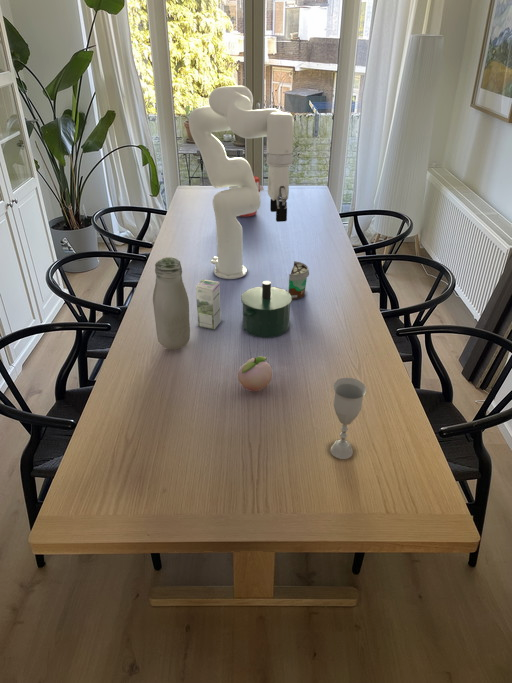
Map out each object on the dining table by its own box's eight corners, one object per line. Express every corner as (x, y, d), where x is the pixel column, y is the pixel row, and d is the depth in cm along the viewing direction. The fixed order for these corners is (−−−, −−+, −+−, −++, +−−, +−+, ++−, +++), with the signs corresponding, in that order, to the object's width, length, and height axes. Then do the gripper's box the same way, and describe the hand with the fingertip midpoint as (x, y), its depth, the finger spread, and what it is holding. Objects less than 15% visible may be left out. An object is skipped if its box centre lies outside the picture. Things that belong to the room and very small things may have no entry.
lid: (230, 303, 158) (230, 285, 155) (260, 285, 169) (260, 267, 166) (273, 318, 151) (273, 299, 147) (301, 298, 161) (302, 280, 158)
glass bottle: (164, 358, 148) (155, 269, 133) (153, 342, 156) (143, 255, 141) (196, 350, 152) (191, 262, 137) (184, 334, 160) (177, 249, 145)
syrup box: (221, 321, 167) (220, 280, 159) (214, 330, 162) (212, 288, 154) (205, 318, 168) (203, 278, 160) (197, 327, 164) (195, 285, 156)
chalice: (323, 440, 120) (330, 378, 110) (352, 439, 121) (361, 376, 111) (330, 463, 114) (337, 399, 104) (360, 461, 114) (370, 398, 105)
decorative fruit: (259, 404, 131) (260, 372, 126) (233, 393, 135) (232, 362, 129) (278, 385, 138) (279, 354, 132) (252, 375, 141) (252, 345, 136)
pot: (228, 331, 161) (227, 304, 156) (265, 307, 175) (265, 281, 170) (266, 346, 154) (267, 319, 149) (301, 319, 168) (303, 293, 163)
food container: (305, 303, 178) (307, 276, 172) (287, 301, 179) (289, 274, 173) (309, 287, 188) (311, 262, 183) (292, 286, 189) (294, 260, 184)
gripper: (262, 153, 158) (261, 208, 167) (272, 166, 143) (271, 226, 152) (286, 152, 159) (284, 207, 167) (298, 165, 144) (296, 224, 153)
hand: (278, 216), depth 160 cm, fingers open, 9 cm apart
